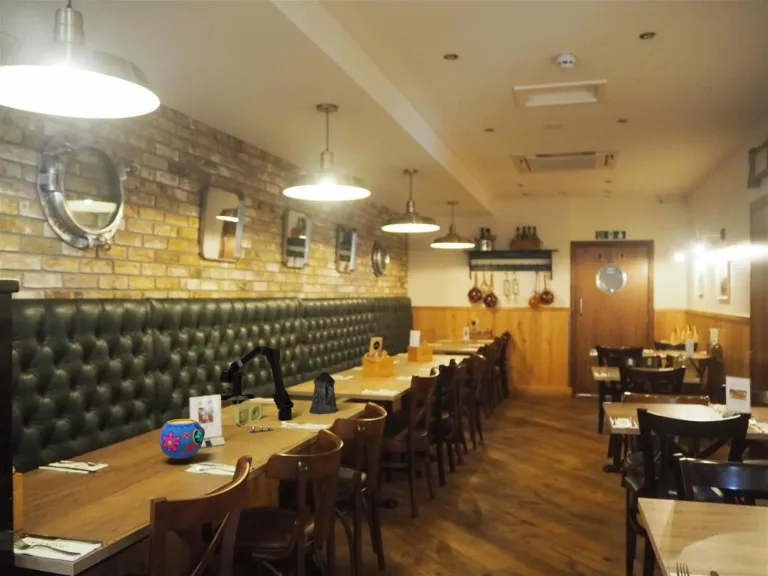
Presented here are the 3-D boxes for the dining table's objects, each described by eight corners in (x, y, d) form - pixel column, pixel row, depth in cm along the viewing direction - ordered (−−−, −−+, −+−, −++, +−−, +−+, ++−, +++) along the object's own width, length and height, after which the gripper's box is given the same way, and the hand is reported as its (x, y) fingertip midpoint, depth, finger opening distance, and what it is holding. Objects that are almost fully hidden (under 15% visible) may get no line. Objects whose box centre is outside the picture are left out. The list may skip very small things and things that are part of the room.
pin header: (272, 431, 326) (272, 424, 326) (273, 432, 323) (273, 425, 324) (248, 433, 320) (248, 426, 320) (250, 434, 318) (250, 427, 318)
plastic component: (238, 426, 337) (238, 407, 338) (227, 425, 341) (227, 405, 341) (262, 420, 355) (262, 402, 355) (251, 419, 358) (251, 401, 359)
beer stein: (322, 413, 383) (323, 370, 384) (347, 416, 371) (348, 373, 372) (303, 416, 369) (304, 372, 370) (329, 420, 358) (329, 375, 359)
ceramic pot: (200, 462, 261) (201, 424, 261) (154, 463, 258) (155, 425, 258) (205, 452, 278) (206, 417, 278) (162, 453, 275) (163, 417, 275)
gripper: (249, 381, 376) (248, 408, 376) (217, 383, 368) (216, 410, 367) (254, 384, 367) (254, 411, 366) (221, 385, 358) (221, 413, 358)
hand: (236, 411), depth 365 cm, fingers closed
